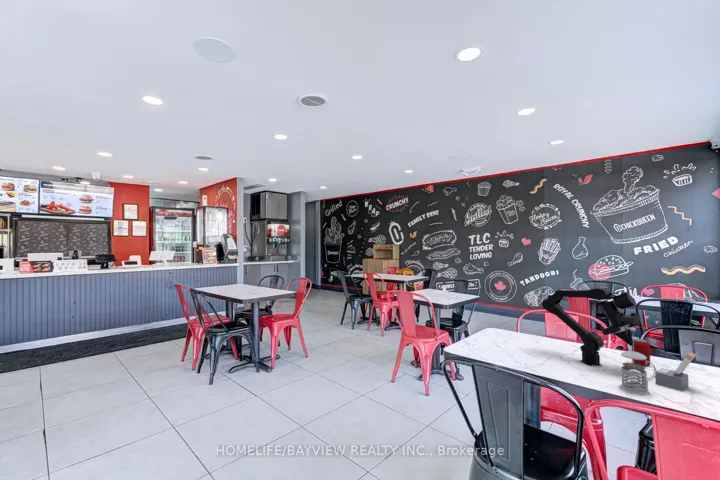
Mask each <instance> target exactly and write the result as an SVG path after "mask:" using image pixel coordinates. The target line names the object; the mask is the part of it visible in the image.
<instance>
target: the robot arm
mask: <svg viewBox="0 0 720 480" xmlns="http://www.w3.org/2000/svg"><path fill="white" fill-rule="evenodd" d="M564 298H586V299H589V300H594V301H596V304H595V305H594V307H595V308H597V307H599V308H601V309H602V311H603V313H604V315H605V316H606V317H604V319H605V320H608V321H609V323H610V326H609V327H608V326H607V327H605V328H602V329H601V333H602V334H603V336H607V335H614V336H616V337H617V338H618V339H621V340H622V341H623V342H625V344H627V345H629V346H630V347H632V346H633V331H631V330H630V328H635V327H639V326H641V325H642V324H641V321H640V320H641V317H640V315H639V314H638V313H637V312H632V313H630V314H628V315H626V314H625V313H624V312H621V311H620V310H619V309H621V310H625V309H626V310H627V309H630V308H633V307H636V306H637V305H638V304H637V301H636V300H635V298H634V297H633V296H632V295H631V294H630V293H629V292H628V291H624V292H622V293H621V294H614V293H612V292H610V291H609V290H608V289H607V288H606V287H598V288H597V287H596V288H591V289H557V290H555V291H554V292H553V293H552V294H551V295H550V296H549V297H547V298H546V299H543V301H542V303H541V307H542V308H543V310H545V311H547V312H548V313H550V314H552V315H554V316H556V317H557V318H558V319H560V320H561V321H562V322H563V323H564V324H565V325H566V326H567V327H569V329H571V330H572V331H573V332H574V333H575V334H576V335H578V336H579V339H580V340H581V342H582V343H583V344H582V345H580V351H581V360H579V362H581V363H583V364H585V365H586V366H591V367H592V366H596V367H599V366H602V364H601V363H600V362H601V360H600V359H601V358H600V357H601V356H600V352H599V351H600V350H601V349H602V348H603V347H604V346H605V343H604V342H605V341H604V339H603V337H602V336H600V335H599V334H598V333H597V332H596V331H588V330H587V328H585V327H583V326H582V325H581V324H580V323H579V322H578V321H577V320H575V318H573V317H572V315H570V314H568V312H566V311H565V310H564V309H563V307H562V305H561V304H560V303H561V302H562V300H563V299H564ZM609 300H610V301H609Z"/></svg>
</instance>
